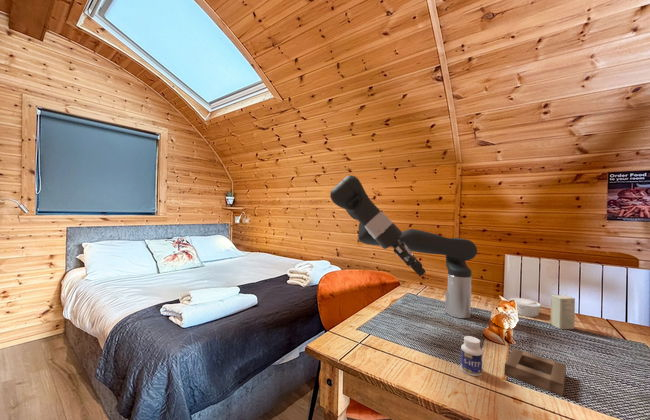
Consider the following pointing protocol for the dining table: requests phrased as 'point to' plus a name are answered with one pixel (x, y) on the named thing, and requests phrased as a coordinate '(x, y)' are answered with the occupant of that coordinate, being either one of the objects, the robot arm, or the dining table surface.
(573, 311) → the skincare box
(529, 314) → the ramekin
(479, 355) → the pill bottle
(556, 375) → the socket block
